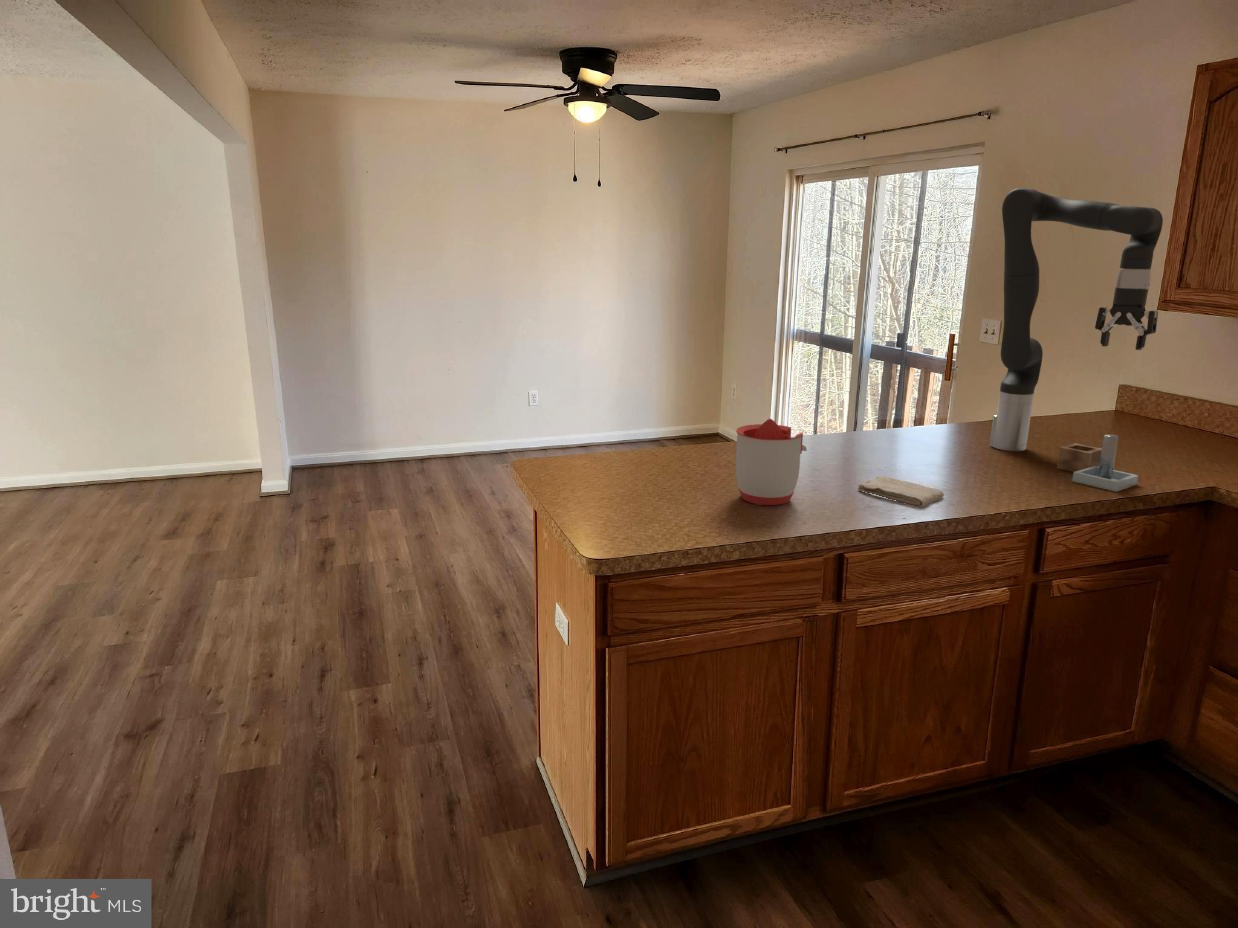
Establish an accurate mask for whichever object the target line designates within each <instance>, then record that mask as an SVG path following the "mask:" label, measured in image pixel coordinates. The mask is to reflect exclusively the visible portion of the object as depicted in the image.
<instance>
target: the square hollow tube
mask: <svg viewBox="0 0 1238 928" xmlns="http://www.w3.org/2000/svg"><path fill="white" fill-rule="evenodd" d="M1101 452H1102V447H1095V446H1089V445H1085V444H1080V443H1071V444H1067V445H1063V446H1060V447H1059V450H1058V456H1057V457H1058V458H1057V465H1056V469H1060V470H1064V471H1067V472H1068V471H1069V472H1073V473H1074V472H1076V471H1079V470H1082V469H1086V468H1089V467H1092V466H1097V467H1099V465H1100V459H1101Z"/></svg>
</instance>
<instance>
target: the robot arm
mask: <svg viewBox="0 0 1238 928" xmlns="http://www.w3.org/2000/svg"><path fill="white" fill-rule="evenodd" d="M1001 215H1002V217H1001V218H1002V224H1003V226H1002V227H1003V232H1004V233H1003V234H1004V235H1003V236H1004V254H1003V257H1004V258H1003V259H1004V260H1003V261H1004V262H1003V263H1004V266H1003V268H1004V271H1003V330H1002V337H1001V338H1002V339H1001V344H1000V346H1001V347H1000V359H1001V362H1002V364H1003V366H1004V367H1005V368H1006V369H1007V372H1006V375H1005V376H1004V378H1003V380H1002V381H1001V382H1000V388H999V394H998V395H999V396H998V401H997V410H996V414H994V415H993V416H992V417H993V418H992V425H991V432H990V433H991V434H990V438H989V447H992V448H994V449H998V450H1001V451H1008V452H1009V451H1010V452H1023V451H1026V450H1027V445H1028V437H1029V430H1030V423H1031V416H1032V409H1033V402H1034V395H1035V389H1036V386H1037V384H1038V382H1039V380H1040V379H1039V378H1040V374H1041V373H1040V372H1041V369H1042V368H1041V367H1042V362H1043V355H1044V354H1043V353H1044V352H1043V348H1042V344H1041V343H1040V342H1039V341H1038V340H1037V339H1036V338H1032V337H1031V319H1032V316H1033V312H1034V310H1035V306H1036V304H1037V300H1038V296H1039V292H1040V265H1039V261H1038V258H1037V255H1036V252H1035V248H1034V245H1033V240H1032V222H1059V223H1063V224H1067V225H1073V226H1076V227H1081V228H1083V229H1084V228H1085V229H1092V230H1099V231H1108V232H1109V231H1110V232H1111V231H1112V232H1116V233H1120V234H1124V235H1128V236H1130V238H1129V241H1128V245H1127V246H1125V247H1124V249H1123V250H1122V253H1121V257H1120V258H1121V259H1120V264H1119V270H1118V274H1117V277H1116V281H1115V289H1114V294H1113V299H1112V307H1107V306H1100V307H1099V308H1098V312H1097V317H1096V321H1095V325H1094V328H1095V330H1098V331H1100V332H1101V335H1100V344H1101V347H1108V346H1109V344H1110V343H1109V342H1110V338H1111V337H1110V336H1111V332H1110V331H1111V330H1112V329H1113V328H1114V327H1117V326H1128V327H1133V328H1134V330H1136V332H1137V333H1138V335H1137V338H1136V343H1135V350H1136V351H1141V350H1143V349H1144V348H1145V345H1146V340H1147V336H1148V335H1152V334H1156V332H1157V325H1158V315H1159V311H1158V310H1155V309H1154V310H1146V305H1147V298H1148V294H1149V289H1150V285H1151V270H1152V269H1151V268H1152V264H1153V259H1154V251H1155V248H1156V246H1157V244H1158V241H1159V240H1160V239H1159V238H1160V236H1161V233H1162V229H1163V223H1164V218H1163V214H1162V213H1161V211H1160V210H1158V209H1157V208H1155V207H1146V206H1144V207H1143V206H1133V205H1132V206H1131V205H1120V204H1117V203H1114V202H1105V201H1097V200H1085V199H1084V200H1083V199H1069V198H1062V197H1058V196H1055V195H1050V194H1048V193H1044V192H1041V191H1038V190H1036V189H1033V188H1023V187H1019V188H1014V189H1013V190H1011V191H1009V192H1008V193H1007V194H1006V195H1005V197H1004V199H1003V201H1002V206H1001ZM1109 314H1110V315H1111V318H1110V319H1109V320H1108V322H1106V320H1107V319H1106V318H1107V316H1108V315H1109ZM1144 317H1146V319H1147V326H1145V325H1146V324H1145V323H1144V321H1143V320H1142V319H1143V318H1144ZM1105 323H1106V324H1105Z"/></svg>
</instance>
